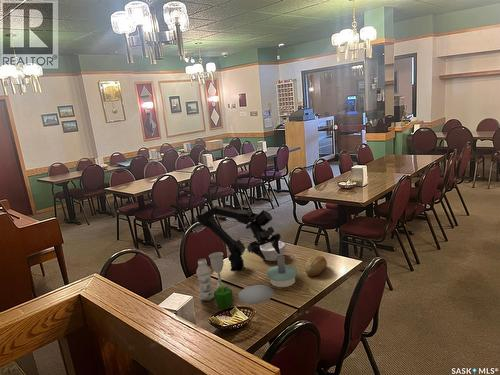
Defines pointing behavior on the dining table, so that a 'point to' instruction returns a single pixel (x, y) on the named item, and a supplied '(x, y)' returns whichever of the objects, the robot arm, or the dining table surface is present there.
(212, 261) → the chalice
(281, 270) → the lid
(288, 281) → the bowl
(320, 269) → the bread roll
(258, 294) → the mat
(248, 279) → the dining table surface
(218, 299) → the bell pepper
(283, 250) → the paper bowls
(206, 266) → the plastic bottle
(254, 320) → the dining table surface
